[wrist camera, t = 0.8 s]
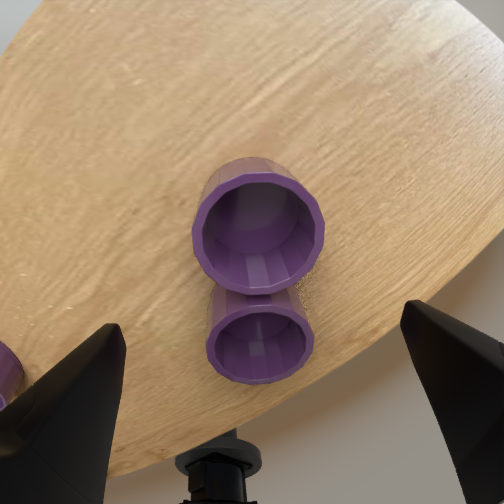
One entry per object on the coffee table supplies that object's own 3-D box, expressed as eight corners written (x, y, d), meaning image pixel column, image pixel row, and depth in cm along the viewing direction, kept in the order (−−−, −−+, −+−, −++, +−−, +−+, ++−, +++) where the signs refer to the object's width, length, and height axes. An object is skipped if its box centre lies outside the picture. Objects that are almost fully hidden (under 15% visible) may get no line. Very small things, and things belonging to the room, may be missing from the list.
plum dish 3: (316, 301, 23) (334, 342, 19) (255, 352, 25) (261, 396, 21) (252, 247, 21) (260, 284, 17) (190, 309, 22) (184, 353, 18)
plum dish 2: (323, 206, 20) (349, 234, 16) (253, 274, 22) (260, 315, 18) (250, 134, 18) (258, 143, 14) (177, 213, 19) (165, 243, 15)
